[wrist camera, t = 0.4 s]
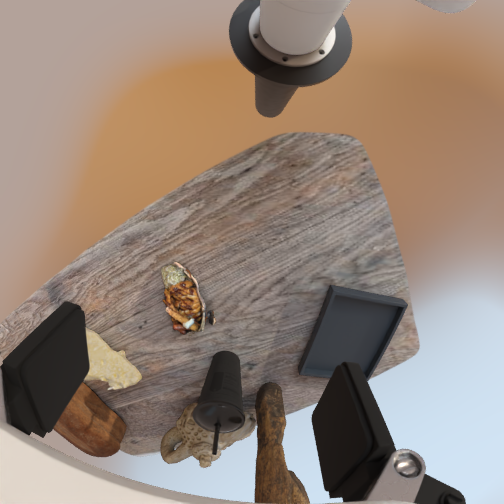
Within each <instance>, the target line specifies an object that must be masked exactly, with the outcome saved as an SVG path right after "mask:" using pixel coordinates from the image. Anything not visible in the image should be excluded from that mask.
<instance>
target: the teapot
mask: <svg viewBox="0 0 504 504" xmlns="http://www.w3.org/2000/svg"><path fill="white" fill-rule="evenodd" d="M196 406H197V403H192V404H189V405H188V406H187V407H186V408H185V410H184V412H183V414H182V415H181V416H180V418H179V419H178V420H177V422H176V427H173V428H172V429H170V430H169V431H168V432H167V433H166V434H165V435H164V437H163V438H162V441H161V456H162V458H163V460H164V461H165V462H167V463H168V464H172V463H178V462H180V461H182V460H184V459H186V458H188V457H190V456H193V457H195V458H196V459H197V460H199V462H200V466H201V467H203V468H206V467H208V466H211V461H215V460H216V459H218V458H219V457H220V455H221V451H220V450H225V449H226V447H229V446H231V445H232V444H233V443H234V442H236V441H239V440H242V439H244V438H246V437H248V436H250V435H251V433H252V432H253V431H254V429H255V425H256V420H255V419H254V417H253V414H251V413H249V412H247V411H243V412H244V414H245V424H244V425H243V427H242V428H240V429H239V430H237V431H235V432H231V433H219V441H218V449H217V455H213V454H212V448H213V440H214V432H210V431H207V430H205V429H203V428H201V427H200V426H198V425H197V424H196V423H195V421H194V419H193V416H192V413H193V410H194V408H195V407H196ZM181 441H183V442H182V444H181V445H180V446H179V447H178V448H177V449H176V450H174V447H175V445H176V444H177V443H180V442H181Z"/></svg>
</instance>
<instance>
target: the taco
mask: <svg viewBox="0 0 504 504" xmlns="http://www.w3.org/2000/svg"><path fill="white" fill-rule="evenodd" d="M161 273H162V279H163V282H164V285H165V288H166V289H165V292H164V294H165V298H166V301H165V300H164V299H163V302H164V303H165V305H166V311H167V313H168V314H169V315H170V316H171V320H172V322H173V324H174V325H173V329H174V330H178V331H179V332H180V333H181V334H183V335H186V334H187V333H189V332H192V334H194V333H193V332H196V331H197V332H199V331H200V332H201V331H204V326H205V321H206V319H207V318H209V323H210V324H211V325H214V324H215V323H216V319H215V317H214V312H213V311H212V310H210V311H209V312H208V313H207V312H206V307H205V302H204V299H203V298H202V297H201V294H200V293H199V290H198V288H199V287H198V286H199V284H198V283H197V281H196V279H195V278H193V276H192V274H191V273H190V271H189V270H188V269H187V268H186V267H183V266H182V265H181V264H180V263H177V262H175V263H172V264H170V265H168V266H165V267H162V269H161ZM189 336H191V335H189Z"/></svg>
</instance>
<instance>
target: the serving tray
mask: <svg viewBox="0 0 504 504" xmlns="http://www.w3.org/2000/svg"><path fill="white" fill-rule="evenodd" d="M407 306H408V304H407V303H406V302H405V301H404V300H403V299H399V298H394V297H389V296H384V295H379V294H374V293H369V292H364V291H359V290H354V289H349V288H344V287H339V286H334V285H330V288H329V290H328V293H327V296H326V299H325V301H324V304H323V307H322V309H321V312H320V315H319V317H318V320H317V322H316V325H315V327H314V330H313V332H312V335H311V337H310V340H309V342H308V345H307V347H306V350H305V352H304V354H303V357H302V359H301V362H300V364H299V366H298V370H299V375H305V376H314V377H323V378H331V376H332V374H333V372H334V370H335V368H336V366H337V365H341V363H342V362H354V363H359V365H360V367H361V369H362V371H363V373H364V375H365V378H366V380H367V381H368V380H369V379H370V377H371V375H372V374H373V372H374V370H375V368H376V367H377V365H378V363H379V361H380V360H381V358H382V356H383V354H384V352H385V350H386V349H387V347H388V345H389V343H390V341H391V339H392V337H393V335H394V333H395V331H396V329H397V327H398V325H399V323H400V321H401V319H402V317H403V315H404V313H405V310H406V308H407Z"/></svg>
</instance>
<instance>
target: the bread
mask: <svg viewBox="0 0 504 504" xmlns="http://www.w3.org/2000/svg"><path fill="white" fill-rule="evenodd" d="M53 429H54V430H55V431H56V432H58V433H59V434H60V435H61V436H63V437H64V438H65V439H66V440H68V441H69V442H70V443H71V444H73V445H74V446H75V447H77V448H78V449H80V450H81V451H83V452H85V453H86V454H89V455H91V456H96V457H108V456H112V455H113V454H115V453H116V452H118V450H119V449H120V443H121V441H122V439H123V437H124V434H125V431H126V425H125V423H124V422H123V421H122V420H121V418H120V417H119V416H118V415H117V414H116V413H115V412H113V411H112V410H111V409H110V408H109V407H108V406H107V405H105V404H104V403H103V402H102V401H101V400H100V399H99V398H98V396H97V395H96V394H95V393H94V392H93V391H92V390H91V389H90V388H89V387H88V386H86V385H85V384H84V383H83V382H82V383H81V385H80V386H79V388H78V389H77V391H76V393H75V394H74V396H73V397H72V399H71V400H70V402H69V404H68V405H67V407H66V408H65V410H64V412H63V413H62V415H61V416H60V418H59V420H58V421H57V423H56V425H55V426H54V428H53Z"/></svg>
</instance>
